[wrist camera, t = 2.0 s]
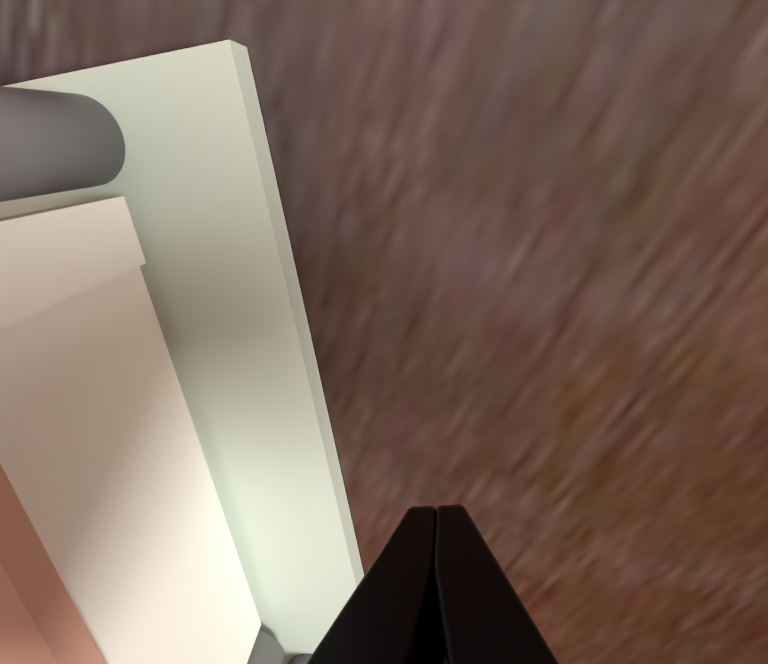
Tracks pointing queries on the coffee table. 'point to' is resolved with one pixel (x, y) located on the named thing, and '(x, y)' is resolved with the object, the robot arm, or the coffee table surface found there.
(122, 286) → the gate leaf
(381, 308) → the coffee table surface
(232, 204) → the gate base
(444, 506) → the robot arm
